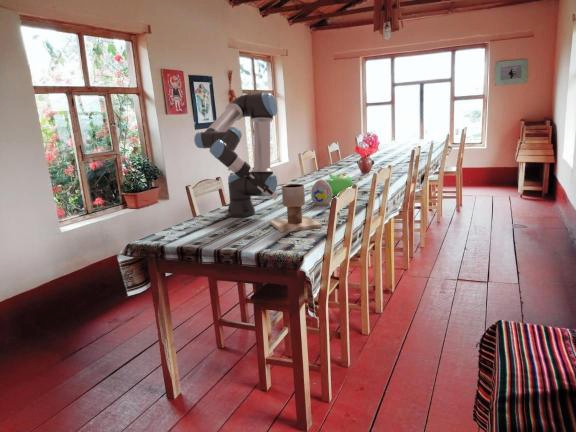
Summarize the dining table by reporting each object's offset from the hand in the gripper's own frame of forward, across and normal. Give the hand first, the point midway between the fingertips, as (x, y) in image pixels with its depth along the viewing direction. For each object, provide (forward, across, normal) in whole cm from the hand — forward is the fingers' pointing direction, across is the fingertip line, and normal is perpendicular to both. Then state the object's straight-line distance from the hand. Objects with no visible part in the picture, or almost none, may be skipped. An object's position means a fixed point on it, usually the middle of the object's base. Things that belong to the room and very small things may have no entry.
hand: (272, 195), depth 218 cm
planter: (+12, 0, +3) cm, 12 cm away
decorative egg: (+40, -38, +18) cm, 58 cm away
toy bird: (+55, -56, +32) cm, 84 cm away
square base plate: (+19, 0, -4) cm, 19 cm away
